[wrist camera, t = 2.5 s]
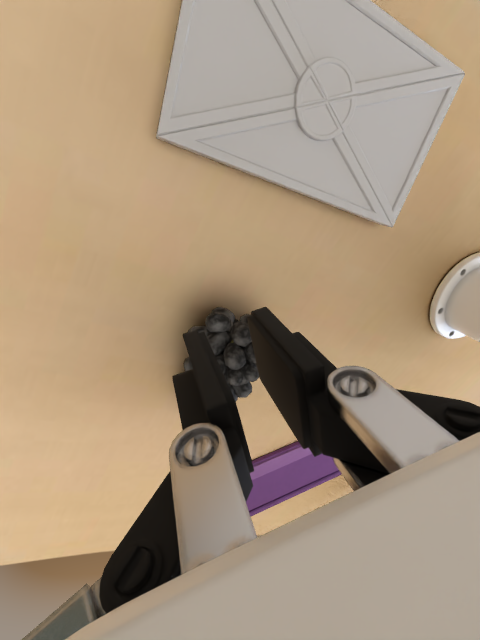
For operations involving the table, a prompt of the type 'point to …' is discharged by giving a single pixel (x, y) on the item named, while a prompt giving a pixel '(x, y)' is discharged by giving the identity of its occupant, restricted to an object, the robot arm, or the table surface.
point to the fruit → (230, 349)
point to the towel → (287, 475)
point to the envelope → (308, 97)
